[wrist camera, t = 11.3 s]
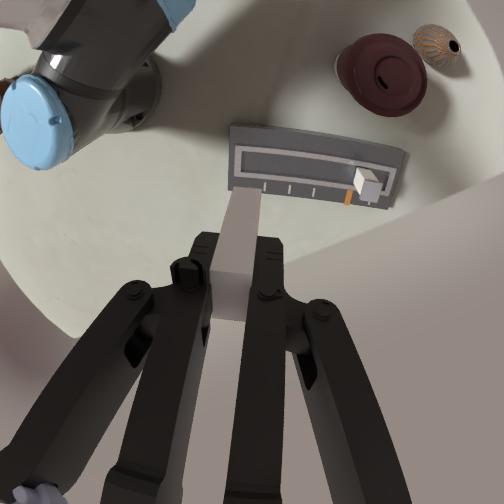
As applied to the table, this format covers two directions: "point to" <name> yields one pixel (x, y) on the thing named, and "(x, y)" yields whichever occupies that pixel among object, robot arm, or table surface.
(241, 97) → the table surface
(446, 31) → the vase
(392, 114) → the coffee cup
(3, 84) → the flowerpot
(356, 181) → the fader knob
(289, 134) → the console
